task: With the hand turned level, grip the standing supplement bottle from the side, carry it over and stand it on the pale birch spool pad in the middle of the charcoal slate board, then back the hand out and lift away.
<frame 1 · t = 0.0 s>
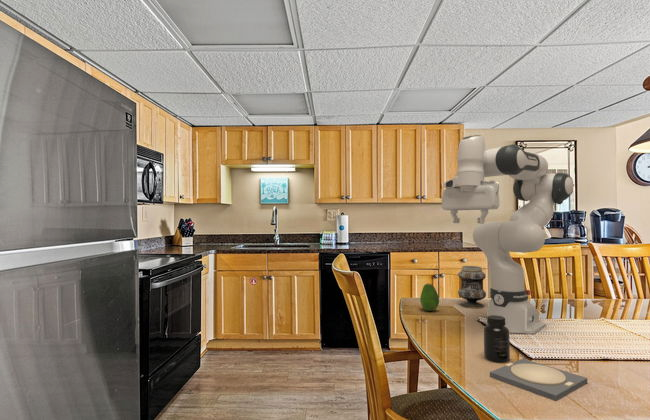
hand: (468, 223, 129), 39 cm above the table, tool pointing down, fingers open, 8 cm apart
avocado: (429, 311, 168), on the table
slate board: (537, 379, 97), on the table
apothecary jar: (472, 306, 177), on the table
supplement bottle: (496, 359, 111), on the table
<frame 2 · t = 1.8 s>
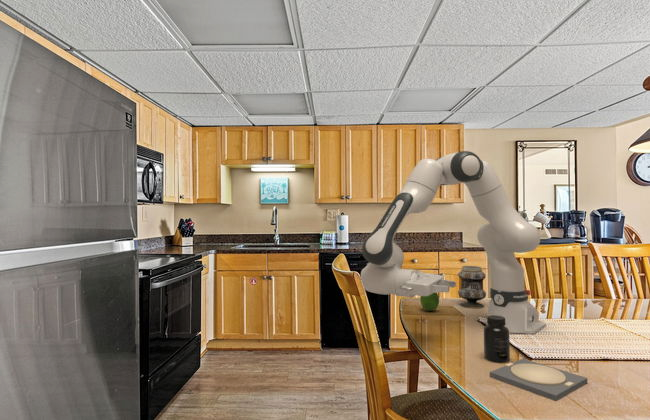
hand: (452, 286, 117), 20 cm above the table, tool horizontal, fingers open, 8 cm apart
nothing on the table moved.
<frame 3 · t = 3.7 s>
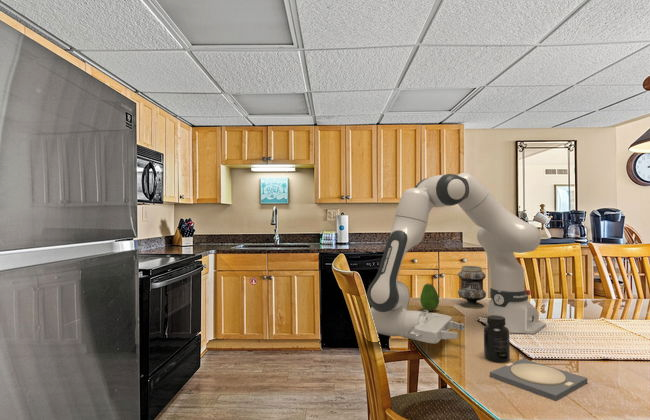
hand: (461, 331, 116), 6 cm above the table, tool horizontal, fingers open, 8 cm apart
nothing on the table moved.
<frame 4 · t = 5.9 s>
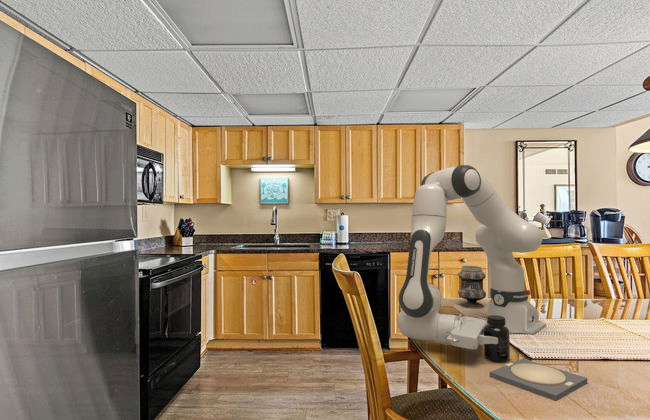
hand: (499, 336, 111), 7 cm above the table, tool horizontal, fingers closed on supplement bottle, 7 cm apart
supplement bottle: (496, 359, 111), on the table, touching gripper
everything else where it was.
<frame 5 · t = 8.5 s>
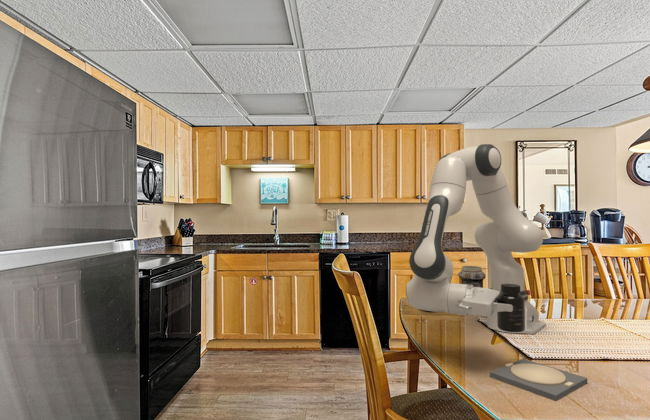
hand: (514, 304, 104), 17 cm above the table, tool horizontal, fingers closed on supplement bottle, 7 cm apart
supplement bottle: (510, 329, 105), point 10 cm above the table, touching gripper
everything else where it was.
when the fingers open (10 cm above the table, at t = 11.4 s): supplement bottle drops 1 cm, resting on slate board.
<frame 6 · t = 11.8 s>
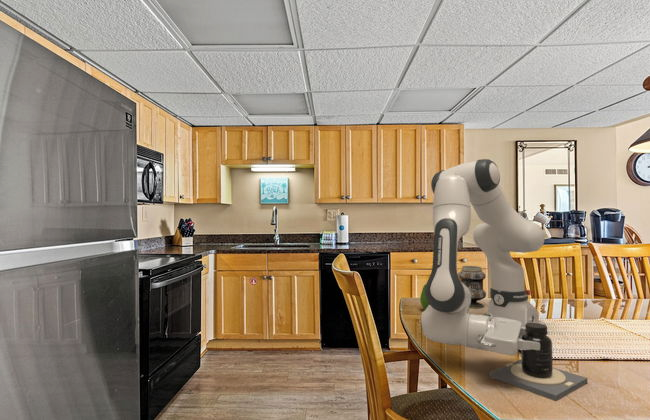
hand: (540, 340, 96), 10 cm above the table, tool horizontal, fingers open, 8 cm apart
supplement bottle: (537, 374, 96), point 2 cm above the table, touching gripper, slate board
everything else where it was.
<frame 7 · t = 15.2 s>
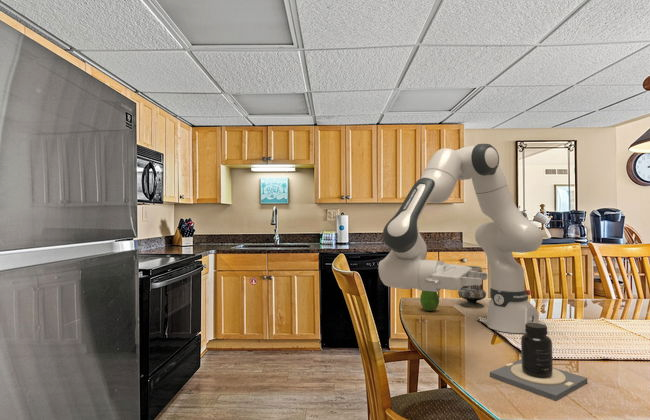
hand: (484, 279, 103), 24 cm above the table, tool horizontal, fingers open, 8 cm apart
supplement bottle: (537, 374, 96), point 2 cm above the table, touching slate board
everything else where it was.
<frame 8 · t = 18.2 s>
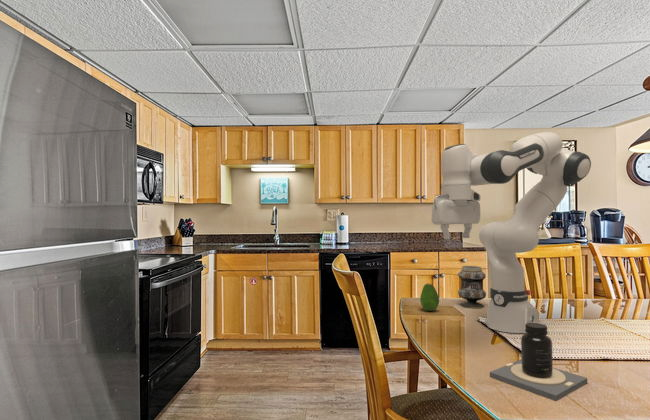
hand: (456, 238, 122), 34 cm above the table, tool pointing down, fingers open, 8 cm apart
nothing on the table moved.
at the end: supplement bottle inside the target area on the slate board (0.6 cm from its centre), point 1.6 cm above the slate board's base; supplement bottle tilted 0°; the gripper is holding nothing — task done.
